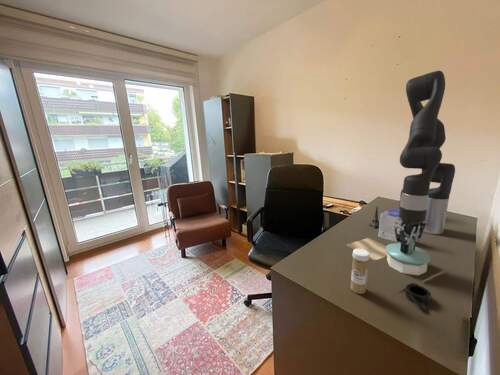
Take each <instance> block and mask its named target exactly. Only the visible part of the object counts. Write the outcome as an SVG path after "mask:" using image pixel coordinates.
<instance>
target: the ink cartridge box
mask: <svg viewBox="0 0 500 375" xmlns="http://www.w3.org/2000/svg"><path fill="white" fill-rule="evenodd" d="M399 210H400V209H399V208H397V207H396V208H395V207H391V209H390V211H387V210H384V211H383V212H381V213H380V214H379V216H380V217H379V223H380V224H379V227H378V235H377V237H379V238H382V239H385V240H389V241H393V242H395V243H400V242H397V240H396V235H395V228H400V227H401V223H402V219H401V218H400V217H399Z"/></svg>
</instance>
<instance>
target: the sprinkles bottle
mask: <svg viewBox="0 0 500 375" xmlns="http://www.w3.org/2000/svg"><path fill="white" fill-rule="evenodd" d="M352 250H353V251H352V263H351V264H352V265H351V267H352V268H351V275H350V276H351V277H350V279H351V280H350V286H349V287H350V290H351V291H352V292H354V293H355V294H358V295H359V294H361V295H363V294H365V293H366V292H367V291H366V290H367V289H366V288H367V281H368V269H369V260H370V258H369V252H368V251H366V250H364V249H352Z"/></svg>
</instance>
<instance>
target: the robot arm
mask: <svg viewBox="0 0 500 375" xmlns="http://www.w3.org/2000/svg"><path fill="white" fill-rule="evenodd" d="M445 90H446V77H445V74H444V72H443V71H442V70H435V71H432V72H429V73H426V74H423V75H419V76H416V77H412V78H410V79H408V80H407V82H406V84H405V93H406V98H407V102H408V104H409V109H410V112H411V115H412V121H411V123H410V126H409V135H408V141H407V143H406V145H405V146H404V148H403V150H402V152H401V153H400V156H399V163H400V165H401V167H403V168H405V169H415V170H416V169H417V170H419V169H420V170H421V173H418V174H409V175H407V176H404V179H403V186H402V189H403V192H402V196H401V201H400V200H399V201H400V203H399V205H400V210H399V211H398V212H399V217H400V218H401V219H402V223H401V227H400V228H395V235H396V240H397V242H396V243H398V242H400V243H401V247H400V251H401V252H402V253H405V254H407V253H408V247H409V241H410V239H411V238H412V239H414V240H415V243H414V250H415V247H416V245H417V242H418V241H419V240H420V239H422V235H423V234H424V233H427V234H431V235H442V234H443V233H444V230H445V224H446V217H447V214H448V213H447V212H448V206H449V200H450V195H451V191H452V186H453V183H454V182H453V181H454V178H455V173H456V167H455V165H454V164H452V163H450V162H449V163H446V162H441V160H442V158H443V153H442V151H441V148H442V147H443V145H444V144H445V142H446V137H447V136H446V130H445V129H446V128H445V125H444V123H443V122H442V121H441V120H440V119H439V118H438V116H439V112H440V109H441V106H442V102H443V100H444V95H445ZM424 101H427V103H426V104H425V105H423V104H422V102H424ZM431 183H434V184H435V183H436V184H439V186H438V187H432V188H430V186H431ZM405 237H406V238H407V239H405ZM418 239H419V240H418ZM414 250H413V251H414Z"/></svg>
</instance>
